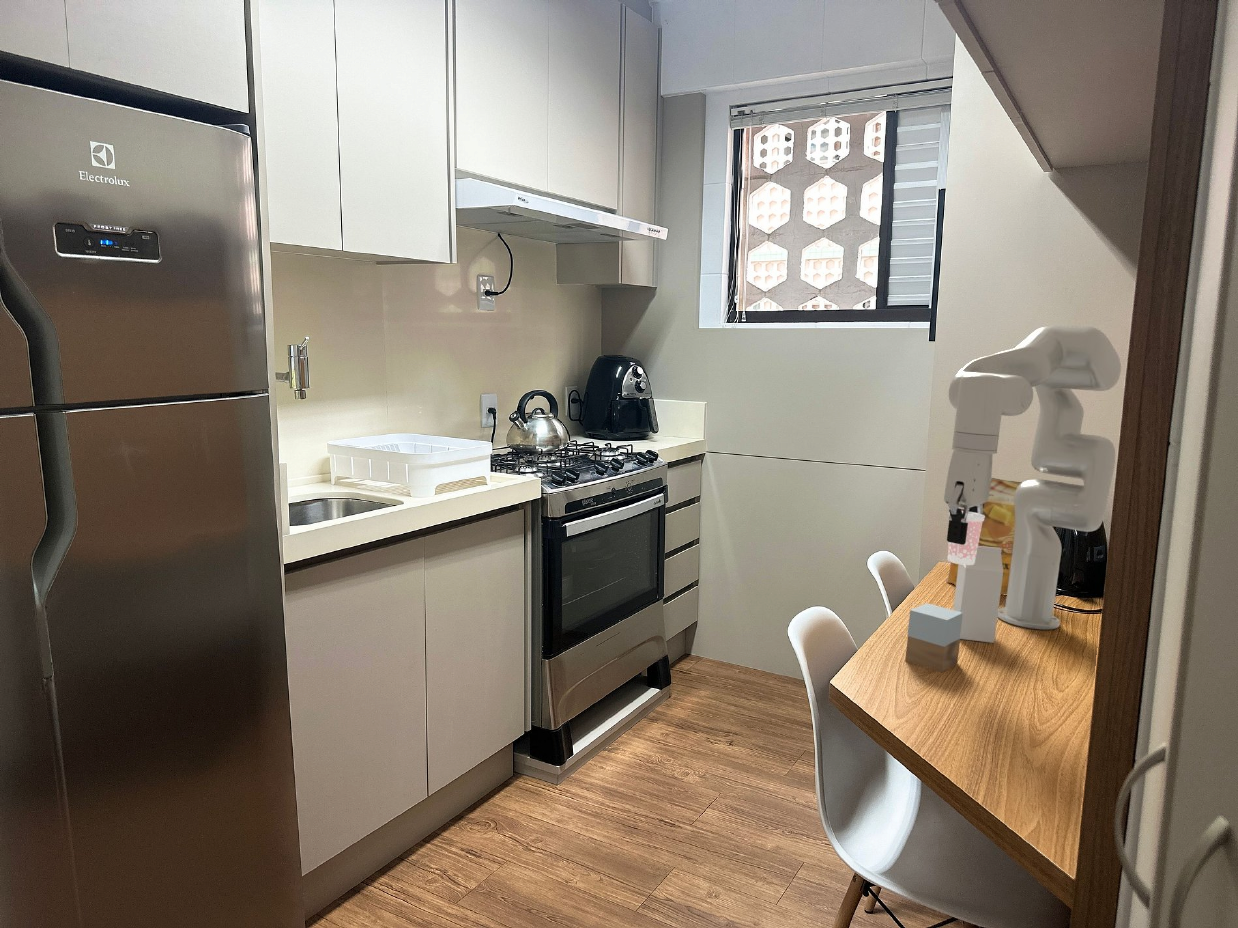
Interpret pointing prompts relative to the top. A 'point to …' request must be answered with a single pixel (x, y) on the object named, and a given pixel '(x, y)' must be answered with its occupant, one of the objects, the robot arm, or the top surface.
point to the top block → (935, 624)
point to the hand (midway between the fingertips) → (963, 539)
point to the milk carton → (979, 594)
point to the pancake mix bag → (996, 526)
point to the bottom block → (932, 654)
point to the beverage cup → (967, 542)
